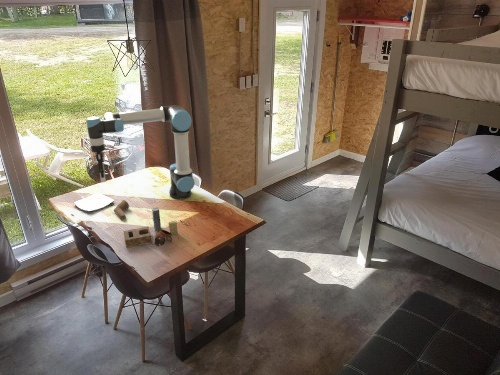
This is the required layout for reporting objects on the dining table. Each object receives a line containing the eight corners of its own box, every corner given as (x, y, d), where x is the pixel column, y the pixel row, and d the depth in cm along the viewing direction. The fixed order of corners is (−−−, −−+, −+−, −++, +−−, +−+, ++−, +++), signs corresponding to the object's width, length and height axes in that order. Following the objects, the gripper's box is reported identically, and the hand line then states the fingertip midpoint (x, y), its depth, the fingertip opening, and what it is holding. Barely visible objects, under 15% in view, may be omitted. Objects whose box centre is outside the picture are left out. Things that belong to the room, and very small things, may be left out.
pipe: (118, 214, 237) (134, 208, 242) (109, 204, 249) (124, 197, 254) (121, 223, 241) (136, 216, 245) (113, 212, 253) (127, 205, 257)
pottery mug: (153, 240, 222) (158, 227, 222) (168, 245, 225) (173, 232, 224) (152, 247, 211) (158, 233, 210) (168, 252, 213) (174, 239, 213)
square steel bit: (160, 227, 234) (158, 207, 228) (161, 230, 231) (159, 209, 225) (154, 228, 233) (151, 208, 226) (155, 231, 230) (152, 211, 223)
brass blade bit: (177, 232, 229) (176, 220, 226) (177, 233, 228) (176, 222, 224) (169, 233, 228) (168, 221, 224) (170, 235, 226) (169, 223, 223)
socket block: (149, 233, 227) (148, 226, 225) (152, 242, 219) (151, 235, 217) (124, 238, 222) (123, 231, 220) (126, 247, 214) (125, 240, 212)
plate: (89, 215, 246) (88, 212, 244) (72, 206, 256) (71, 202, 255) (116, 203, 260) (116, 200, 259) (99, 195, 271) (98, 191, 270)
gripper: (89, 137, 232) (95, 170, 241) (90, 152, 211) (97, 186, 220) (103, 136, 234) (108, 168, 243) (105, 150, 213) (110, 184, 223)
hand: (103, 177), depth 232 cm, fingers open, 13 cm apart
